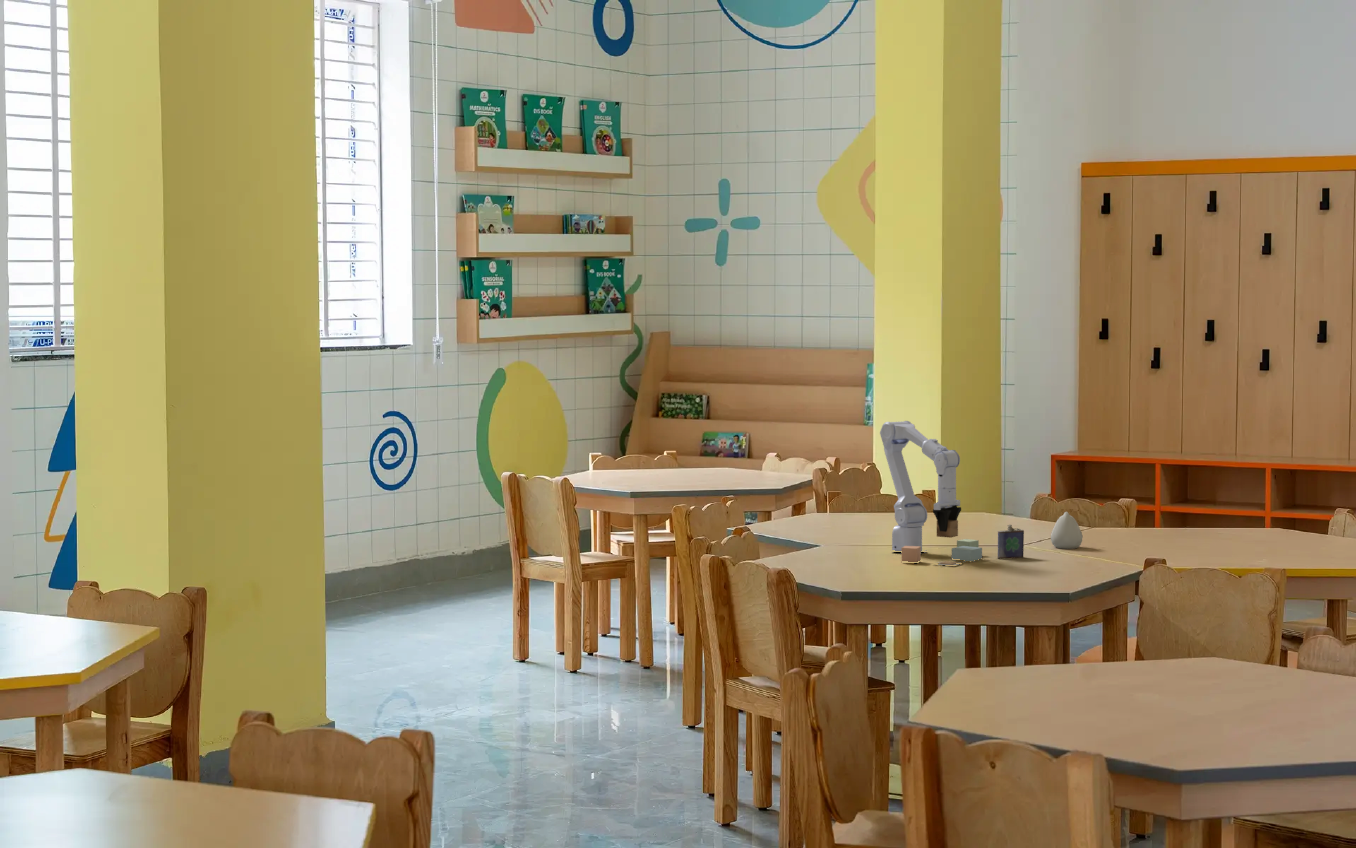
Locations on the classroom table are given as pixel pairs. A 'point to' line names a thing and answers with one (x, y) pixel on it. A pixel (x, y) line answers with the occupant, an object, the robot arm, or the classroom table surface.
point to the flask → (1011, 543)
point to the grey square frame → (947, 563)
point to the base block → (967, 553)
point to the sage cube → (968, 543)
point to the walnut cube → (949, 529)
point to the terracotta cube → (911, 553)
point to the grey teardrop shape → (1066, 533)
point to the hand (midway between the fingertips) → (947, 530)
